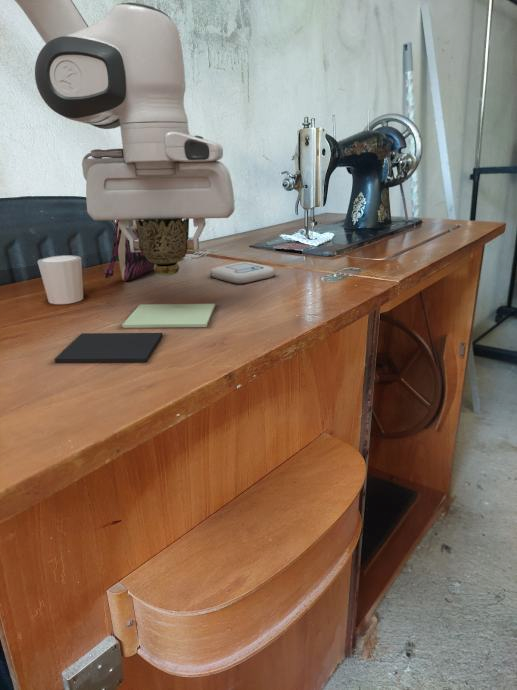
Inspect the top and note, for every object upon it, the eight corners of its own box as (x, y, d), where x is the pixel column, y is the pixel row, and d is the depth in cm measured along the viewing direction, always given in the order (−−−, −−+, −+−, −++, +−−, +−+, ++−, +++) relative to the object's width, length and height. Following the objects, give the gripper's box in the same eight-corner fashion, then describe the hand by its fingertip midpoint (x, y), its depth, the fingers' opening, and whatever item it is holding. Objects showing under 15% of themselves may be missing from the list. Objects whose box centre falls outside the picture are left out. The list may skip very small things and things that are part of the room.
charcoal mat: (55, 362, 62) (54, 358, 61) (82, 336, 70) (81, 333, 70) (146, 362, 61) (145, 358, 61) (162, 336, 69) (162, 332, 69)
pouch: (132, 288, 94) (120, 178, 87) (94, 286, 96) (79, 178, 89) (191, 260, 116) (185, 171, 109) (158, 259, 118) (150, 171, 111)
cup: (131, 273, 75) (125, 217, 73) (175, 265, 80) (171, 212, 77) (157, 282, 70) (152, 222, 67) (202, 273, 74) (199, 216, 72)
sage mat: (122, 328, 73) (121, 324, 73) (140, 307, 82) (139, 304, 82) (206, 327, 72) (206, 323, 72) (215, 306, 82) (215, 303, 82)
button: (279, 267, 99) (238, 276, 93) (279, 276, 100) (239, 285, 94) (245, 260, 106) (206, 268, 100) (245, 268, 107) (206, 276, 101)
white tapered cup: (42, 297, 89) (35, 257, 86) (83, 292, 92) (77, 253, 89) (47, 307, 83) (39, 264, 81) (90, 301, 86) (84, 259, 84)
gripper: (71, 149, 66) (86, 256, 71) (229, 145, 65) (233, 254, 70) (88, 149, 72) (101, 248, 77) (233, 145, 71) (237, 246, 76)
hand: (165, 251), depth 74 cm, fingers closed on cup, 7 cm apart
